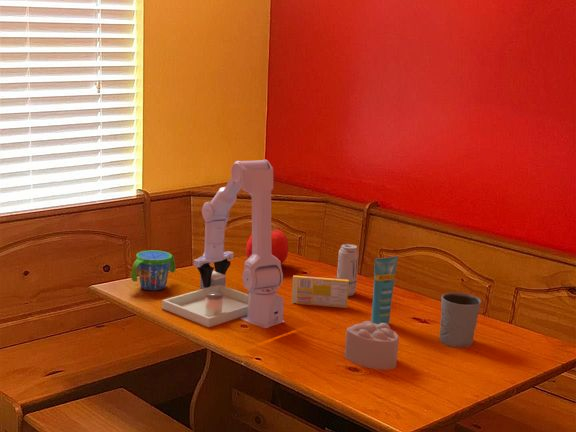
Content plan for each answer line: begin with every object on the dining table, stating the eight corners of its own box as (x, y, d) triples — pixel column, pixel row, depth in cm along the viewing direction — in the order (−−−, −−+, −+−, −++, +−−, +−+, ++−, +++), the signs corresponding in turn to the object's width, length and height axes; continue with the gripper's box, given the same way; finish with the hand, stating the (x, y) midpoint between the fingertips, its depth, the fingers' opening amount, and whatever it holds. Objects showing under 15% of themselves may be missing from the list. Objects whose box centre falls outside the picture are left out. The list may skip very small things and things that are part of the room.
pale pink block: (225, 291, 250) (225, 275, 248) (214, 294, 246) (214, 278, 245) (211, 286, 253) (211, 270, 252) (200, 289, 250) (200, 273, 249)
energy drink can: (349, 298, 250) (353, 250, 246) (332, 293, 253) (335, 246, 249) (358, 293, 255) (362, 246, 251) (341, 289, 258) (345, 242, 254)
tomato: (271, 259, 284) (273, 220, 281) (297, 270, 274) (299, 229, 271) (234, 266, 274) (236, 225, 271) (260, 277, 264) (262, 235, 261)
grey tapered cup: (429, 338, 221) (433, 296, 218) (453, 331, 228) (458, 289, 225) (459, 351, 214) (464, 307, 211) (483, 343, 220) (489, 300, 217)
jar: (225, 317, 226) (226, 294, 224) (213, 322, 222) (214, 297, 221) (213, 313, 229) (214, 289, 227) (201, 317, 225) (202, 293, 224)
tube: (375, 328, 226) (381, 260, 222) (364, 322, 230) (369, 256, 226) (396, 324, 230) (402, 257, 226) (385, 318, 234) (390, 253, 230)
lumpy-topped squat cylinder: (366, 346, 214) (369, 314, 212) (406, 363, 205) (409, 330, 203) (339, 356, 207) (341, 323, 205) (379, 374, 198) (382, 339, 196)
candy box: (347, 306, 243) (349, 279, 241) (346, 308, 241) (349, 281, 239) (291, 301, 244) (293, 274, 242) (291, 303, 242) (292, 276, 240)
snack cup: (164, 278, 258) (165, 246, 256) (185, 287, 251) (186, 255, 248) (121, 287, 247) (121, 254, 245) (141, 297, 240) (141, 263, 238)
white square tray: (265, 310, 235) (265, 300, 234) (208, 329, 219) (208, 318, 218) (218, 293, 247) (219, 284, 246) (161, 310, 230) (162, 300, 230)
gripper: (222, 235, 254) (220, 277, 257) (187, 242, 243) (185, 287, 247) (239, 240, 250) (237, 283, 253) (203, 248, 239) (202, 293, 242)
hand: (212, 285), depth 249 cm, fingers closed on pale pink block, 4 cm apart
